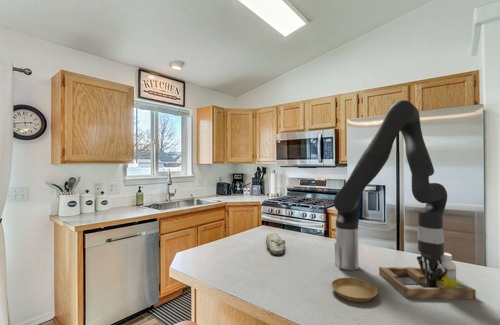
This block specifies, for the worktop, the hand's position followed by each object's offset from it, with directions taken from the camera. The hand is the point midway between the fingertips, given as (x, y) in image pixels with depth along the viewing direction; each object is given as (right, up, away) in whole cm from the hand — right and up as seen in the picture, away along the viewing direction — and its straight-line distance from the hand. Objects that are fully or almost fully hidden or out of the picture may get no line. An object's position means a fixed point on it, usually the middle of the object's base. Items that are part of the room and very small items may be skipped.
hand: (431, 288), depth 88 cm
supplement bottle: (+4, -1, 0) cm, 4 cm away
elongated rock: (-50, -3, +53) cm, 73 cm away
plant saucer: (-28, -1, -2) cm, 28 cm away
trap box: (-1, -1, +4) cm, 4 cm away
